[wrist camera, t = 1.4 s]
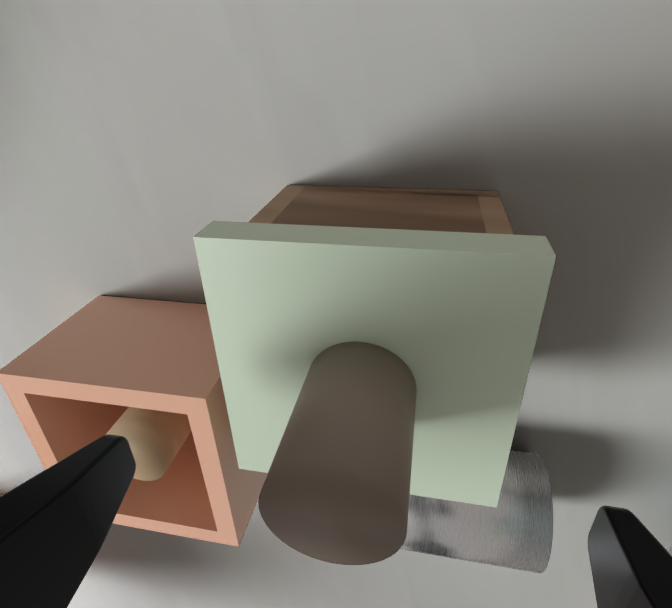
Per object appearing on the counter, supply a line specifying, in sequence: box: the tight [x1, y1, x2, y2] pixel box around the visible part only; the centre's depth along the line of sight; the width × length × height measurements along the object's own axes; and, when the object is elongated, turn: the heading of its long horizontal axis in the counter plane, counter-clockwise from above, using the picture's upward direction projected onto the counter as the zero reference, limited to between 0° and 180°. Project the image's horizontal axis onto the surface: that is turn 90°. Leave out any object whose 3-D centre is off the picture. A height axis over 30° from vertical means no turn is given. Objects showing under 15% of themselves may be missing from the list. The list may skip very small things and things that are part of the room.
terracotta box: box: [0, 296, 268, 547], centre depth 17 cm, size 7×7×5 cm
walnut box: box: [248, 185, 514, 235], centre depth 13 cm, size 6×6×4 cm
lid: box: [193, 221, 556, 565], centre depth 10 cm, size 7×7×5 cm
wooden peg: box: [105, 407, 191, 481], centre depth 17 cm, size 2×2×4 cm
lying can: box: [400, 451, 553, 573], centre depth 17 cm, size 8×4×4 cm, turn 92°
